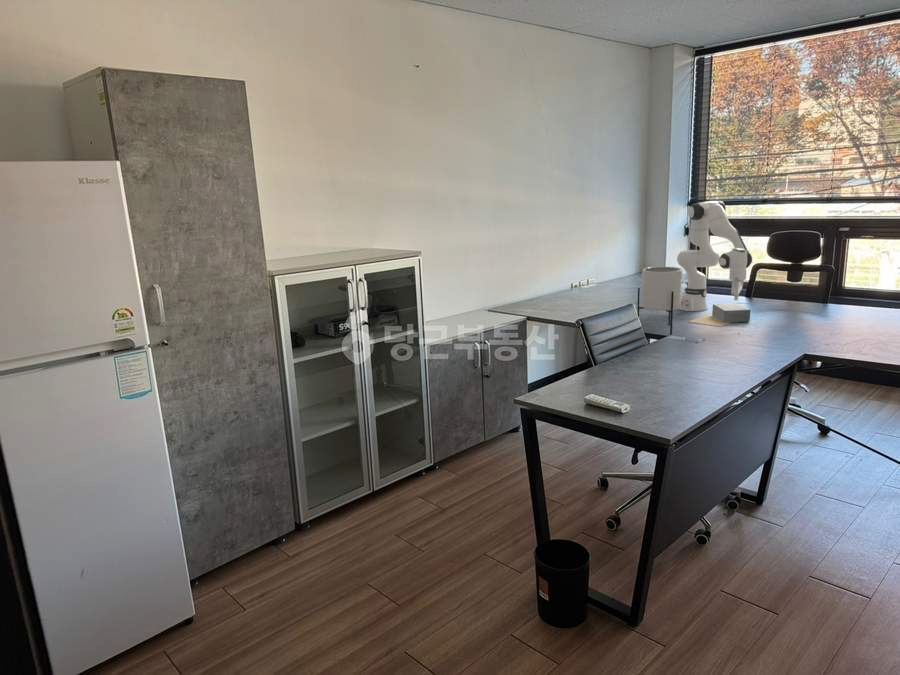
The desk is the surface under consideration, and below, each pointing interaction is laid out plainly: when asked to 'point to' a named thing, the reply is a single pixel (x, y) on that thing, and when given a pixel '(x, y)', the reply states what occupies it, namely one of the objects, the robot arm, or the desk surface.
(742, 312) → the hard drive box
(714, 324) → the cork mat
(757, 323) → the desk surface
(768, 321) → the desk surface
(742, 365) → the desk surface
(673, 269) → the plant pot with stand
